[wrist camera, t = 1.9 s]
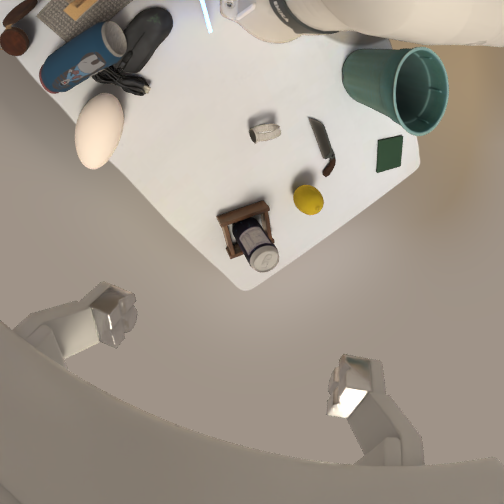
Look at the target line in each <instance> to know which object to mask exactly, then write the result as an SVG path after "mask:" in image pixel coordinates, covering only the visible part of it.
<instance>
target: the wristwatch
mask: <svg viewBox="0 0 504 504" xmlns="http://www.w3.org/2000/svg"><path fill="white" fill-rule="evenodd" d="M267 128H268V129H267ZM264 131H271V132H267V133H260V132H264ZM249 133H250V137H251V139H252V141H253V142H254V143H255V144H256V143H257V142H259V141H267V140H271V139H274V138H276V137H278V136H280V135H281V130H280V126H279V125H277V124H263V125H258V126H255V127H253V128H250V130H249Z"/></svg>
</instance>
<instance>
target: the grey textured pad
mask: <svg viewBox="0 0 504 504" xmlns="http://www.w3.org/2000/svg"><path fill="white" fill-rule="evenodd" d="M131 1H133V0H51V1H50V2H49V3H48V4H47V5H46V6H45V7H44V8H43V9H42V10H41V11H40V12H39V14H38V15H37V17H38V18H39V19H40V20H41V21H42V22H44V23H45V24H46V25H47V26H48V27H49V28H51V29H52V30H53V31H54V32H55V33H56V34H57V35H59V36H60V37H61V38H62V39H63V40H64V41H65V42H69V41H70V40H72V39H73V38H74V37H76V36H77V35H79V34H81V33H82V32H84V31H85V30H87V29H88V28H90V27H92V26H93V25H95V24H97V23H99V22H106V21H108V20H110V19H111V18H112V17H113V16H114V15H115V14H116V13H118V12H119V11H120V10H121V9H122V8H124V7H125V6H126V5H127V4H129V3H130V2H131Z"/></svg>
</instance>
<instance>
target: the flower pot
mask: <svg viewBox="0 0 504 504" xmlns="http://www.w3.org/2000/svg"><path fill="white" fill-rule="evenodd" d="M343 75H344V80H343V84H344V87H345V89H346V91H347V93H348V94H349V95H350V96H351V97H352V98H353V99H354V100H356V101H357V102H359V103H362V104H364V105H366V106H368V107H370V108H372V109H374V110H376V111H378V112H380V113H382V114H384V115H386V116H388V117H390V118H391V119H392V120H393V121H394V122H396V123H398V124H399V125H401V126H402V127H403V128H404V129H405V130H406V131H407V132H408V133H410V134H412V135H415V136H423V135H426V134H428V133H430V132H431V131H432V130H433V129H434V128H435V127H436V126H437V125H438V124H439V122H440V121H441V119H442V117H443V115H444V113H445V110H446V107H447V102H448V96H449V85H448V77H447V73H446V70H445V67H444V65H443V63H442V61H441V59H440V58H439V57H438V56H437V54H436V53H435V52H433V51H432V50H431V49H428V48H426V47H415V48H412V49H400V50H392V49H359V50H356V51H354V52H353V53H352V54H350V55H349V57H348V58H347V59H346V61H345V63H344V66H343Z"/></svg>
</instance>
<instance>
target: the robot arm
mask: <svg viewBox="0 0 504 504" xmlns="http://www.w3.org/2000/svg"><path fill="white" fill-rule="evenodd" d="M200 2H201V5H202V9H203V13H204V16H205V20H206V24H207V27H208V31H209V33H211V32H213V31H212V28H211V24H210V20H209V17H208V13H207V9H206V6H205V2H204V0H200ZM227 3H230V4H231V7H228V6H227ZM220 13H221V15H222V16H223V17H225V18H227V19H229V20H232V21H234V22H237V23H238V24H240V25H241V26H242V27H243V28H244V29H245V30H246V31H247V32H248V33H250V34H251V35H253V36H254V37H256V38H258V39H260V40H263V41H266V42H270V43H285V42H290V41H293V40H295V39H297V38H299V37H300V36H301V35H328V34H332V33H336V32H339V31H357V32H360V33H362V34H366V35H371V36H377V37H382V38H388V39H394V40H399V41H405V42H412V43H417V44H423V45H485V46H495V47H504V0H220ZM135 302H136V298H135V294H133V293H132V292H129V291H127V290H124V289H122V288H119V287H117V286H115V285H112V284H109V283H107V282H100V283H99V284H98V285H97V286H96V287H95V288H94V289H93V290H91V291H90V292H89V293H88V294H87V295H86V296H85V297H84V298H83V299H81V300H80V301H79V302H78V301H73V302H70V303H66V304H63V305H59V306H56V307H52V308H49V309H45V310H42V311H38V312H35V313H31V314H30V315H28V317H26V318H25V319H24V320H23V321H22V322H21V323H20V324H19V325H17V326H16V327H15V328H14V329H13V330H11V329H10V328H9V327H8V326H7V325H5V324H4V323H3V322H2V321H1V320H0V504H504V465H503V464H502V463H501V462H500V461H499V460H498V459H497V458H495V457H488V458H484V459H477V460H472V461H464V462H457V463H449V464H438V465H424V454H423V443H422V437H421V436H420V434H419V433H418V432H417V430H416V429H415V428H414V426H413V425H412V424H411V422H410V421H409V420H408V418H407V417H406V416H405V415H404V413H403V412H402V411H401V409H400V408H399V407H398V405H397V404H396V403H395V402H394V400H393V399H392V398H391V396H390V395H386V389H385V380H384V373H383V365H382V362H381V361H380V360H374V359H368V358H362V357H357V356H352V355H347V354H343V355H342V357H341V358H340V360H339V366H338V367H336V368H335V369H334V371H333V372H332V374H331V378H330V380H329V385H328V392H329V393H330V395H331V396H330V397H329V399H328V400H327V413H326V415H330V416H334V417H340V418H346V419H347V421H348V423H349V425H350V427H351V429H352V431H353V433H354V435H355V437H356V439H357V441H358V443H359V445H360V447H361V449H362V451H363V453H364V455H365V456H363V457H362V458H361V459H360V460H358V461H357V462H356V463H355V464H353V465H350V464H339V463H329V462H322V461H314V460H308V459H301V458H295V457H290V456H284V455H280V454H275V453H270V452H266V451H261V450H257V449H253V448H249V447H245V446H241V445H238V444H234V443H231V442H227V441H224V440H220V439H217V438H214V437H211V436H208V435H205V434H202V433H199V432H196V431H193V430H190V429H187V428H185V427H182V426H179V425H177V424H174V423H171V422H169V421H167V420H164V419H162V418H159V417H157V416H155V415H152V414H150V413H148V412H146V411H143V410H141V409H139V408H137V407H135V406H133V405H130V404H128V403H126V402H124V401H122V400H120V399H118V398H116V397H114V396H112V395H110V394H108V393H107V392H105V391H103V390H101V389H99V388H97V387H96V386H94V385H92V384H90V383H89V382H87V381H85V380H83V379H82V378H80V377H78V376H77V375H75V374H73V373H72V372H70V371H69V370H68V367H67V365H66V363H65V360H64V359H65V358H67V357H70V356H72V355H74V354H76V353H78V352H80V351H82V350H84V349H87V348H89V347H91V346H93V345H95V344H97V343H99V341H100V342H102V343H104V344H107V345H109V346H111V347H114V348H117V347H118V346H119V345H120V343H121V342H122V341H123V340H124V338H125V336H124V333H127V332H130V331H131V330H132V328H133V327H134V325H135V323H136V320H137V309H136V308H135V306H134V305H133V304H134V303H135Z"/></svg>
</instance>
